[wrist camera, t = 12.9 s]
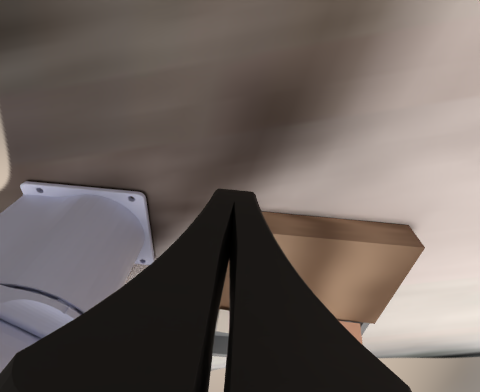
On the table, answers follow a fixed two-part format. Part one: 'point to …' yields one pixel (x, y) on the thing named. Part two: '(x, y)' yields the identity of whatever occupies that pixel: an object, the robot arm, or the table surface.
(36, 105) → the table surface
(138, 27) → the table surface
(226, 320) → the ivory tile
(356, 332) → the terracotta tile
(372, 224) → the walnut board
